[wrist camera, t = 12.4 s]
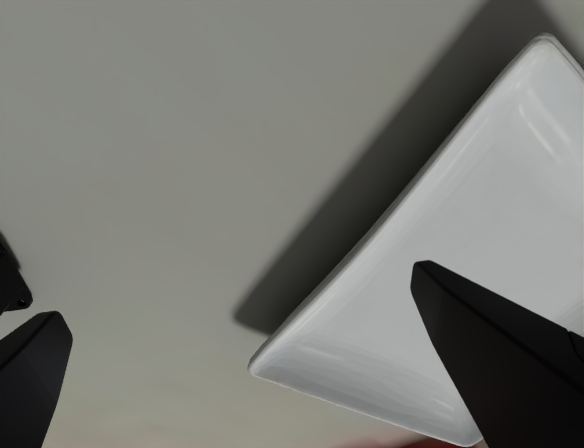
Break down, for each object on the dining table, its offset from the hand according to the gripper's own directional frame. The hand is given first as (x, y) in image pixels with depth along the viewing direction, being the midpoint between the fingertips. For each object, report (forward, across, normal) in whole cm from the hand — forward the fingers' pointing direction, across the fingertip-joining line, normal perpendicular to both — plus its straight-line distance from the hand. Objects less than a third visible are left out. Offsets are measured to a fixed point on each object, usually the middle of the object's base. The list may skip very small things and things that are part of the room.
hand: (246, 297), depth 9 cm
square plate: (+14, -17, +14) cm, 26 cm away
